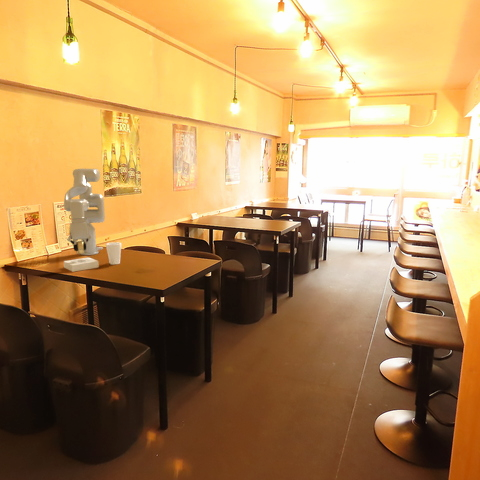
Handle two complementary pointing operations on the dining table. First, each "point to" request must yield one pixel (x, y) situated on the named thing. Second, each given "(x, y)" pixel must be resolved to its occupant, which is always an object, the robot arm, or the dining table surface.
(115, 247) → the foam cup
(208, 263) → the dining table surface
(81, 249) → the brass sleeve
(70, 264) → the plate
